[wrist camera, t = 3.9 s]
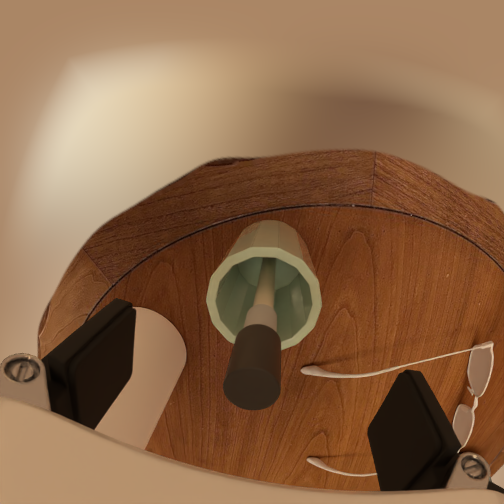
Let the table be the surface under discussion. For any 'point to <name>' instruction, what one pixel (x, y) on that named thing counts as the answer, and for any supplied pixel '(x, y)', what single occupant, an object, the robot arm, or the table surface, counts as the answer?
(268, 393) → the brush
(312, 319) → the tumbler
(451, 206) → the table surface
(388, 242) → the table surface
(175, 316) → the table surface
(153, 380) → the cup
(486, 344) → the eyeglasses
